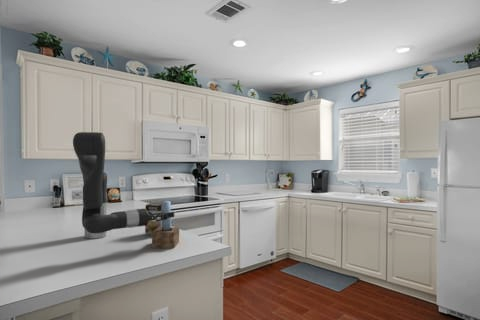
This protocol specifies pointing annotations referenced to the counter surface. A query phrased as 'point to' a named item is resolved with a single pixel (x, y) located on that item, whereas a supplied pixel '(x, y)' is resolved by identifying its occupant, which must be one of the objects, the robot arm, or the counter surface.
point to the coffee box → (153, 224)
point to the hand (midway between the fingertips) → (171, 213)
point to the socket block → (165, 238)
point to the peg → (167, 223)
